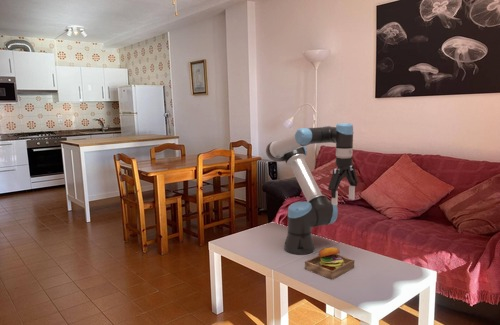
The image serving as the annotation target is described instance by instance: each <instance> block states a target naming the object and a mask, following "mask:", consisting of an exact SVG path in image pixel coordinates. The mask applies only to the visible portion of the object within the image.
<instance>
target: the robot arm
mask: <svg viewBox="0 0 500 325" xmlns="http://www.w3.org/2000/svg"><path fill="white" fill-rule="evenodd" d="M328 143H333V144H335V157H336V158H335V166H337V168H332V175H331V178H330V181H329V185H328V187H327V189H328V190H329V191H331V194H330V195H331V196H330V197H331V200H329V199H328V197H327V195H325V194H322V191H321V189H320V187H319V185H318V184H317V182H316V179H315V178H314V175H313V174H312V172H311V169H310V168H309V166H308V164H307V162H306V159H307V154H308V152H307V147H306V146H309V145H314V144H328ZM353 147H354V125H353V124H352V123H349V122H346V123H345V122H342V123H341V122H340V123H339V122H338V123H336V126H330V125H328V126H327V125H326V126H321V127H302V128H298V129H297V130H296V131H295V133H294V134H291V135H288V136H287V137H284V138H282V139H281V140H273V141H272V142H269V143H268V145H267V146H266V149H265V153H266V156H267V158H269V160H271V161H273V162H285V163H286V166H287V167H288V168H291V171H292V172H293V175H294V176H295V179H296V181H297V183H298V185H299V187H300V189H301V191H302V193H303V196H304V198H305V200H306V201H305V200H304V201H295V202H293V203H291V204H289V206H288V208H287V236H286V239H285V242H284V248H283V249H284V250H285V251H286V252H287V253H289V254H292V255H293V254H294V255H309V254H311V253H313V252H314V251H315V248H316V247H315V242H314V239H313V235H312V228H316V227H322V226H328V225H332V224H334V223H335V222H336V220H338V219H337V218H338V212H339V211H338V202H339V201H338V197H339V195H338V193H339V192H338V189H339V188H338V187H339V186H340V184H341V183H342V182H341V181H342V180H343V179H344V178H346V180H347V181H348V183H349V186H348V200H351V201H354V200H355V195H356V194H355V192H356V190H355V189H356V187H357V186H358V184H359V181H358V176H357V174H356V171H355V165H353V160H354V159H353V149H354V148H353Z"/></svg>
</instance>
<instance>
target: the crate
mask: <svg viewBox="0 0 500 325" xmlns="http://www.w3.org/2000/svg"><path fill="white" fill-rule="evenodd" d="M336 255H338V254H336ZM339 257H340V258H342V259H343V261H344V262H343V263H342V264H343V265H342V266H340V267H338V268H336V269H335V270H329V269H326V268H323V267H322V266H321V265H320V261H321V257H319V254H318V255H317V256H314V257H312V258H309V259H308V260H306V261H304V269H305V270H306V271H309V272H311V271H312V273H314V274H318V275H319V274H320V275H319V276H322V275H323V276H322V277H324V276H325V278H327V279H329V278H330V279H329V280H332V279H333V280H334V278H335V279H336V278H338V277H339V276H342V275H343V274H345V273H347V272H350V270H352V269H354V268H355V259H352V258H349V257H347V256H343V255H340V256H339Z"/></svg>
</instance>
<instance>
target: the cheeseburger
mask: <svg viewBox="0 0 500 325" xmlns="http://www.w3.org/2000/svg"><path fill="white" fill-rule="evenodd" d="M340 253H341V251H340V250H339V249H338V248H337V247H331V246H330V247H325V248H323V249H321V250H320V251H319V253H318V255H319V257H321V261H320V265H321V266H322V267H323V268H326V269H329V270H335V269H336V268H338V267H340V266H342V265H343V264H342V263H343V262H344V261H343V259H342V258H340V257H339V256H341V254H340ZM336 254H337V255H336Z"/></svg>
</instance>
